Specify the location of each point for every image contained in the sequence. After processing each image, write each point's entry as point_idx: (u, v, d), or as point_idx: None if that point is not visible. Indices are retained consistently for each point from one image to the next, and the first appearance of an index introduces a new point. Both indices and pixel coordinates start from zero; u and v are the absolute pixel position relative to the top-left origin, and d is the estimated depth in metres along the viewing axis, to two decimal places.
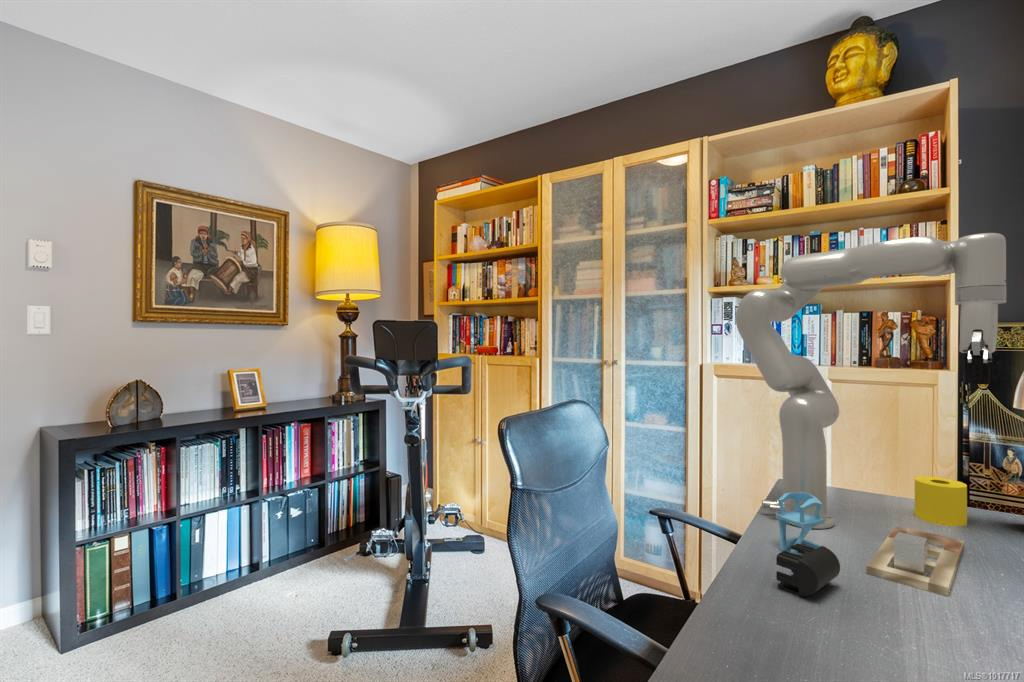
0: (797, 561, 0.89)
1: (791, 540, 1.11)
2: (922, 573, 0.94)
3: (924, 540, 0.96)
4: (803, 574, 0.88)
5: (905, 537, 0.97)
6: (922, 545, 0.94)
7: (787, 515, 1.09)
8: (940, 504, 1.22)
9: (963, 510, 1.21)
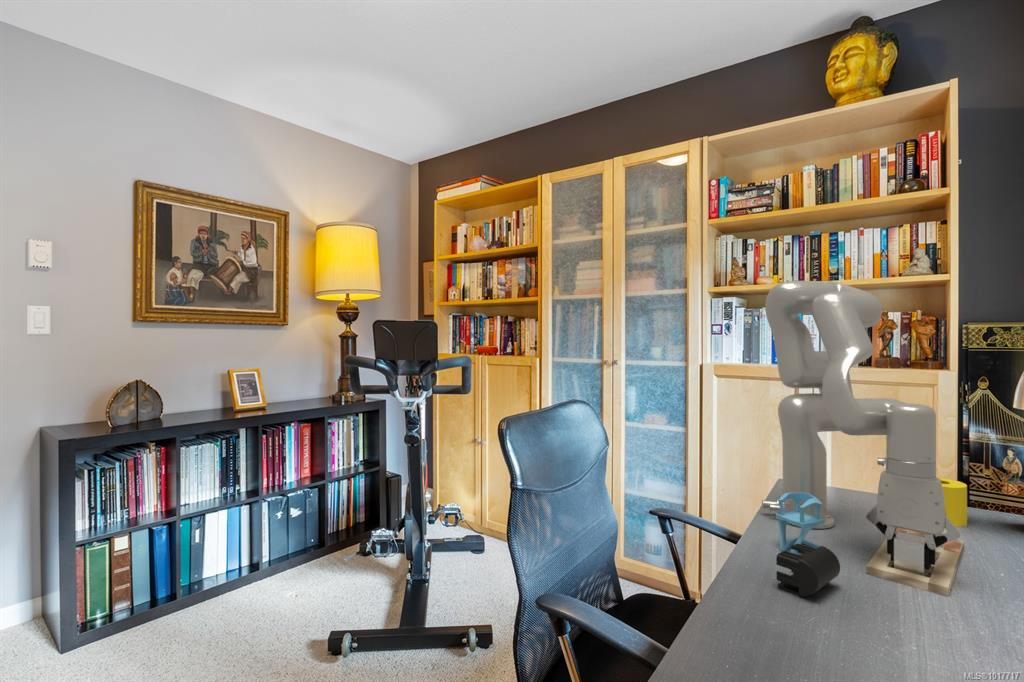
0: (797, 561, 0.89)
1: (791, 540, 1.11)
2: (922, 573, 0.94)
3: (924, 540, 0.96)
4: (803, 574, 0.88)
5: (905, 537, 0.97)
6: (922, 545, 0.94)
7: (787, 515, 1.09)
8: None
9: (963, 510, 1.21)
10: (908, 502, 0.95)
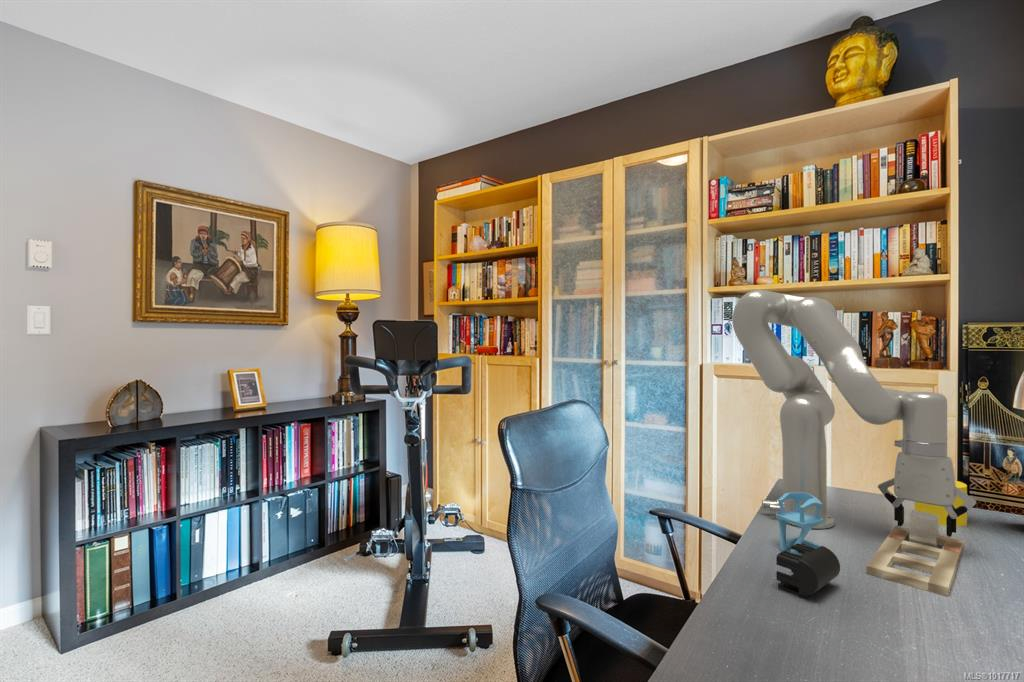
0: (797, 561, 0.89)
1: (791, 540, 1.11)
2: (934, 545, 1.06)
3: (936, 516, 1.08)
4: (803, 574, 0.88)
5: (919, 514, 1.10)
6: (935, 520, 1.06)
7: (787, 515, 1.09)
8: None
9: None
10: (922, 478, 1.07)
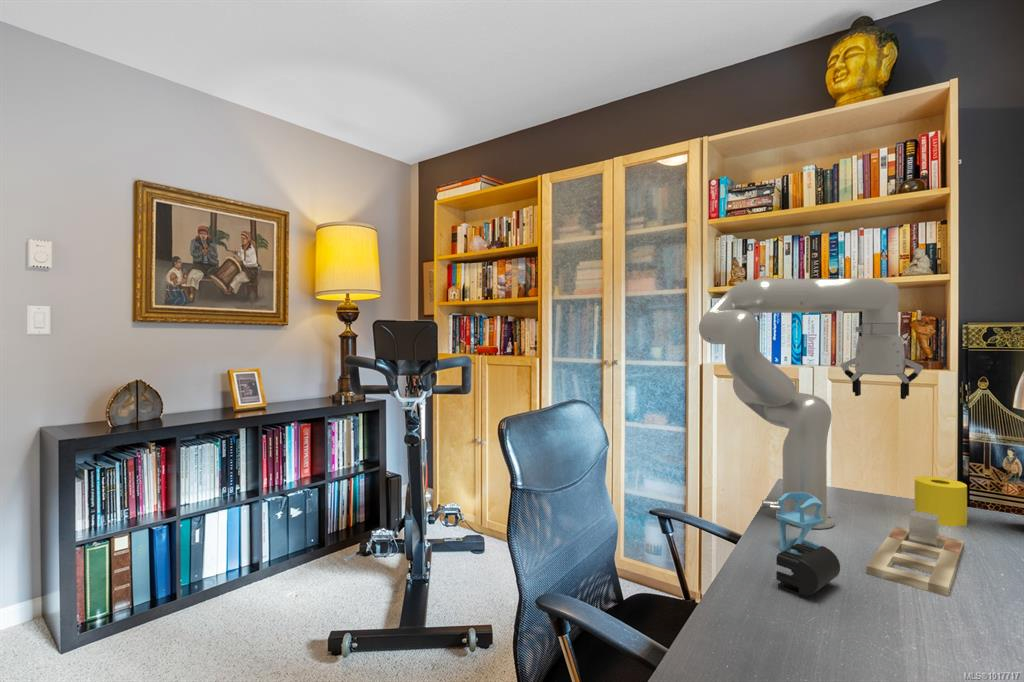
0: (797, 561, 0.89)
1: (791, 540, 1.11)
2: (934, 545, 1.06)
3: (936, 516, 1.08)
4: (803, 574, 0.88)
5: (919, 514, 1.10)
6: (934, 520, 1.06)
7: (787, 515, 1.09)
8: (940, 504, 1.22)
9: (963, 510, 1.21)
10: (877, 354, 1.28)
